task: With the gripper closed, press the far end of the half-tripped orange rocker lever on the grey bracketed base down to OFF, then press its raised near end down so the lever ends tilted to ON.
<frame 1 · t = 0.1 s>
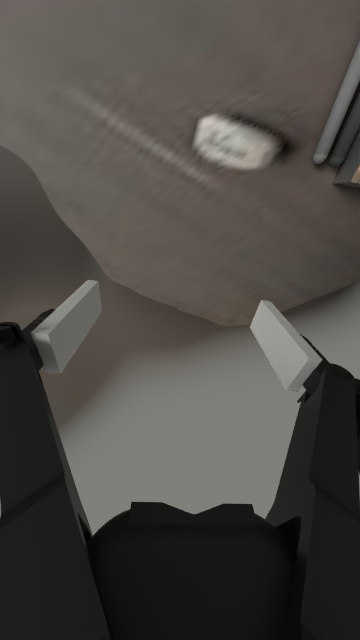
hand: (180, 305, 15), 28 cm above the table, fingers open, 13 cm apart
grey rod: (341, 95, 28), on the table
cord a: (359, 99, 28), on the table
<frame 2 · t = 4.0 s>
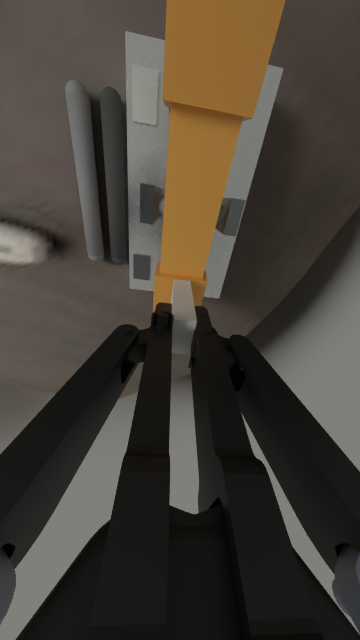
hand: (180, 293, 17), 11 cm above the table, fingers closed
lever: (190, 211, 14), point 10 cm above the table, hinge at 10.3°, touching gripper
grey bracketed base: (185, 205, 23), on the table
grey rod: (92, 190, 22), on the table
cord a: (118, 194, 22), on the table
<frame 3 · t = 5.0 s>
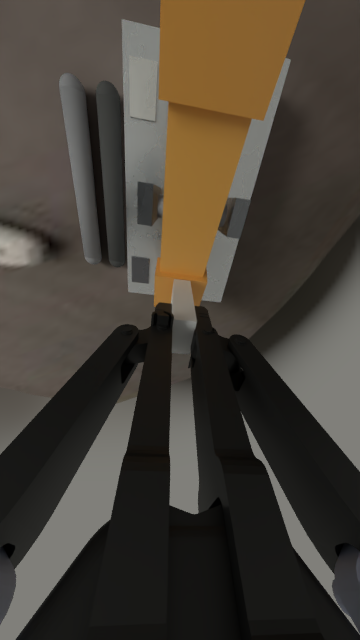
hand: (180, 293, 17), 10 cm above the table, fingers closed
lever: (191, 213, 13), point 10 cm above the table, hinge at 22.0°, touching gripper
grey bracketed base: (185, 205, 22), on the table
grey rod: (88, 190, 21), on the table
cord a: (116, 194, 21), on the table
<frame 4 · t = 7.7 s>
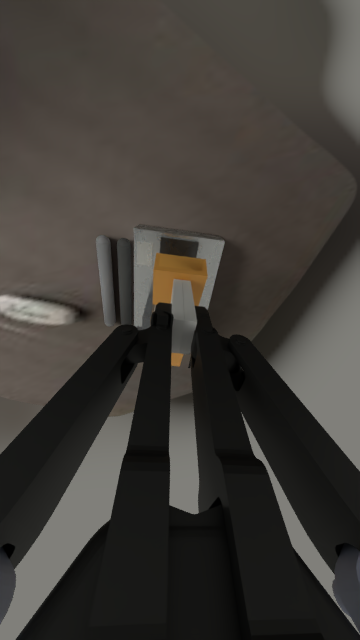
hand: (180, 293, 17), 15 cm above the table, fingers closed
lever: (171, 325, 24), point 10 cm above the table, hinge at 18.0°, touching gripper
grey bracketed base: (172, 291, 33), on the table
grey rod: (108, 284, 32), on the table
cord a: (126, 286, 32), on the table
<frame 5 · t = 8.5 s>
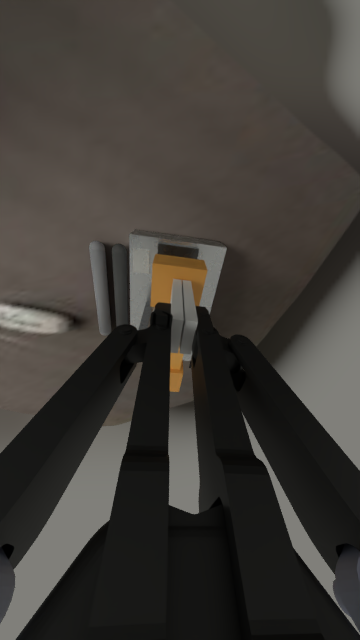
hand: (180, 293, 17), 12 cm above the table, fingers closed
lever: (169, 337, 23), point 10 cm above the table, hinge at 3.8°, touching gripper
grey bracketed base: (170, 299, 31), on the table
grey rod: (104, 291, 30), on the table
cord a: (122, 293, 30), on the table
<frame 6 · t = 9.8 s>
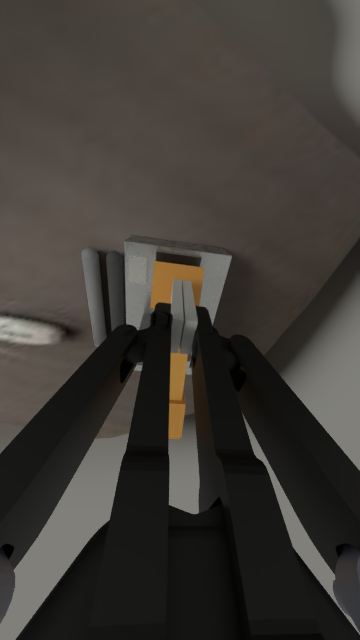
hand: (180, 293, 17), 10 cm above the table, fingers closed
lever: (168, 354, 20), point 10 cm above the table, hinge at -22.1°, touching gripper
grey bracketed base: (170, 309, 29), on the table
grey rod: (98, 301, 28), on the table
cord a: (118, 303, 28), on the table
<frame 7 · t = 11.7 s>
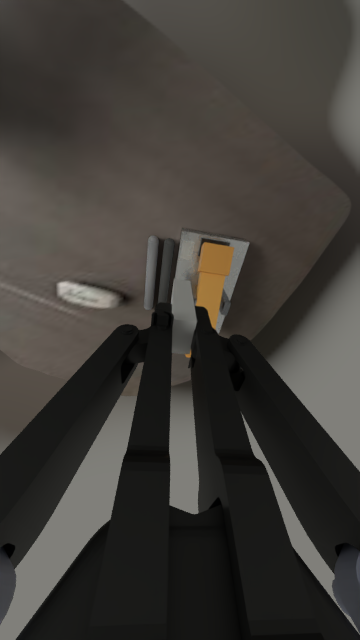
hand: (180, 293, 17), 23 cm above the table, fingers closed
lever: (207, 303, 32), point 10 cm above the table, hinge at -22.1°
grey bracketed base: (201, 282, 41), on the table
grey rod: (151, 275, 40), on the table
cord a: (165, 277, 40), on the table
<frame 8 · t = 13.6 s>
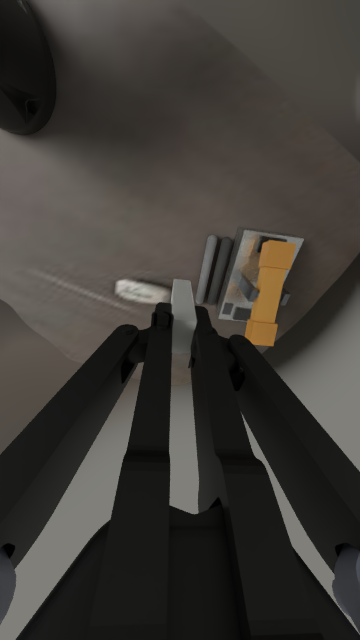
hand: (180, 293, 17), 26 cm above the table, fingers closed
lever: (268, 295, 35), point 10 cm above the table, hinge at -22.1°
grey bracketed base: (250, 277, 44), on the table
grey rod: (204, 271, 43), on the table
cord a: (217, 272, 43), on the table
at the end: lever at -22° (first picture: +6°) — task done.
